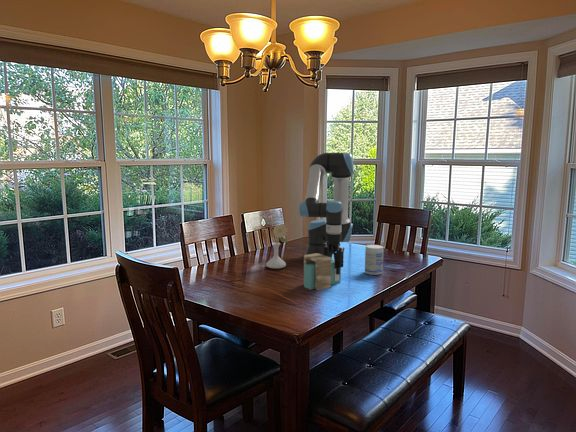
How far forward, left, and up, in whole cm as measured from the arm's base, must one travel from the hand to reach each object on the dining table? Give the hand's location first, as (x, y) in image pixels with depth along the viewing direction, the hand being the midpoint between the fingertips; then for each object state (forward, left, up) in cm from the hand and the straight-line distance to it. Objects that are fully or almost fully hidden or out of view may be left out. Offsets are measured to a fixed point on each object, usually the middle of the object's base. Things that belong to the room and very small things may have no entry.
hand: (332, 278), depth 207 cm
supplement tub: (-1, +30, -2) cm, 30 cm away
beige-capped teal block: (0, -6, -2) cm, 7 cm away
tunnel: (0, -10, -2) cm, 10 cm away
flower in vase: (-39, -7, -2) cm, 40 cm away
